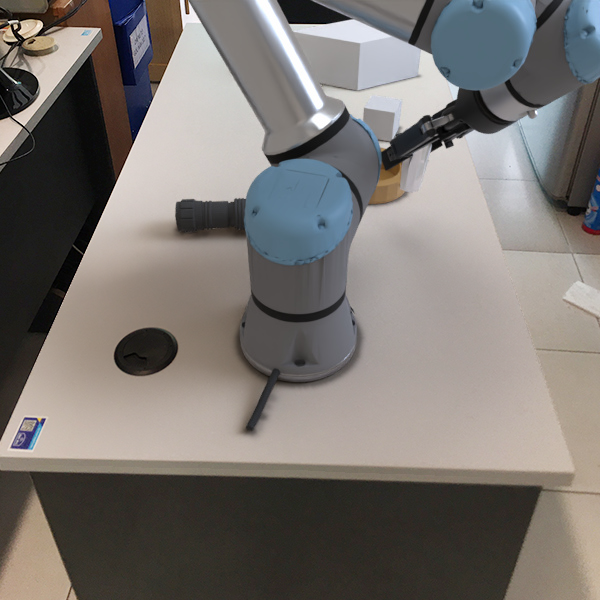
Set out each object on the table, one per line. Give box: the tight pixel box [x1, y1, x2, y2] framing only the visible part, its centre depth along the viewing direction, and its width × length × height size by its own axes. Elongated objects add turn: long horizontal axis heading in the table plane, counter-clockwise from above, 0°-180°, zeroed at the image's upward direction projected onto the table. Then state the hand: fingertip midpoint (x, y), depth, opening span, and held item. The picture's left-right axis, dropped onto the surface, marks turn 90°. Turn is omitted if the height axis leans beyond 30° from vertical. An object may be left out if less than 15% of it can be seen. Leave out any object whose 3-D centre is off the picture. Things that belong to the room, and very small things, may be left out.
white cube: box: [362, 94, 403, 142], centre depth 122 cm, size 6×6×6 cm
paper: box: [292, 18, 422, 91], centre depth 140 cm, size 14×29×10 cm, turn 92°
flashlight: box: [174, 197, 246, 234], centre depth 99 cm, size 15×5×5 cm, turn 93°
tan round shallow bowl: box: [368, 147, 406, 205], centre depth 109 cm, size 13×13×4 cm
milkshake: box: [399, 126, 433, 193], centre depth 90 cm, size 4×5×10 cm
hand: (398, 156), depth 93 cm, fingers closed on milkshake, 5 cm apart
